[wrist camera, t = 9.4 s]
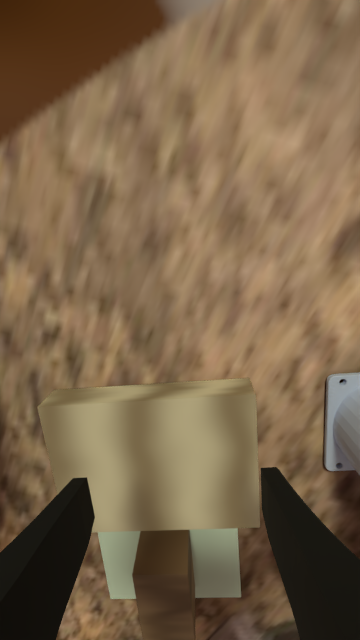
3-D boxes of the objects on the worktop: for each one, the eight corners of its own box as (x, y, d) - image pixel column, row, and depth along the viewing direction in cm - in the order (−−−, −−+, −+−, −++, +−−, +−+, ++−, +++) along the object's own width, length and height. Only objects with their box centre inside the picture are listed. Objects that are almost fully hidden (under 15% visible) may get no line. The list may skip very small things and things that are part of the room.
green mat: (235, 505, 25) (236, 510, 24) (240, 591, 27) (241, 597, 26) (96, 509, 25) (94, 515, 25) (112, 592, 28) (110, 598, 27)
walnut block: (187, 574, 21) (195, 643, 22) (188, 522, 25) (195, 585, 26) (132, 574, 21) (143, 644, 23) (141, 524, 25) (151, 586, 27)
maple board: (249, 377, 22) (255, 394, 19) (253, 499, 24) (260, 527, 22) (54, 390, 23) (37, 407, 20) (78, 505, 25) (66, 533, 23)
